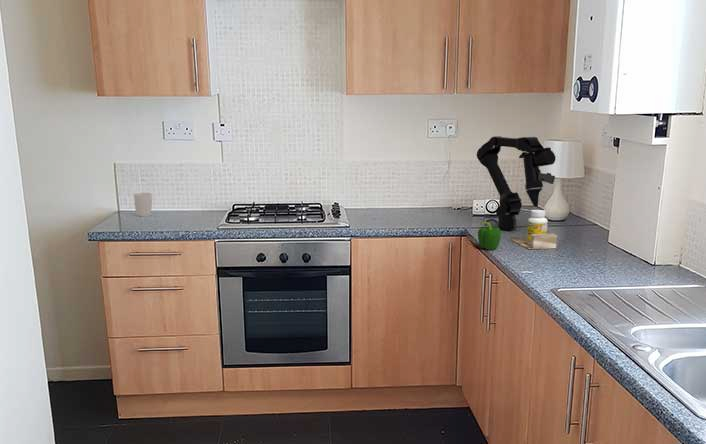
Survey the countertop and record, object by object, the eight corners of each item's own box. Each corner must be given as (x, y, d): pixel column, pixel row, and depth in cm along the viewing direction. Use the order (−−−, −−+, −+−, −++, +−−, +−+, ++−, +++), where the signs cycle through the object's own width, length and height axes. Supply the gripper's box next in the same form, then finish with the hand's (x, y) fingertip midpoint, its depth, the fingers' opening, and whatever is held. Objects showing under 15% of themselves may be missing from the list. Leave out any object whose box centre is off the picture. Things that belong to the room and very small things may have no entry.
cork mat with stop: (511, 240, 242) (512, 226, 241) (540, 239, 243) (541, 226, 242) (529, 250, 226) (530, 235, 225) (559, 249, 228) (560, 235, 227)
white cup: (131, 216, 285) (130, 194, 283) (141, 213, 292) (140, 192, 290) (146, 217, 282) (144, 195, 280) (156, 214, 290) (154, 193, 288)
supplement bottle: (550, 244, 233) (552, 211, 230) (538, 247, 228) (540, 213, 226) (534, 240, 238) (536, 208, 236) (522, 243, 234) (524, 210, 232)
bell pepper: (505, 249, 228) (506, 222, 226) (491, 252, 222) (493, 225, 220) (486, 244, 234) (487, 219, 232) (473, 248, 228) (474, 222, 226)
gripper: (554, 164, 235) (558, 204, 235) (551, 166, 253) (555, 204, 253) (524, 167, 238) (528, 207, 238) (523, 170, 256) (527, 207, 256)
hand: (535, 206), depth 246 cm, fingers open, 9 cm apart
